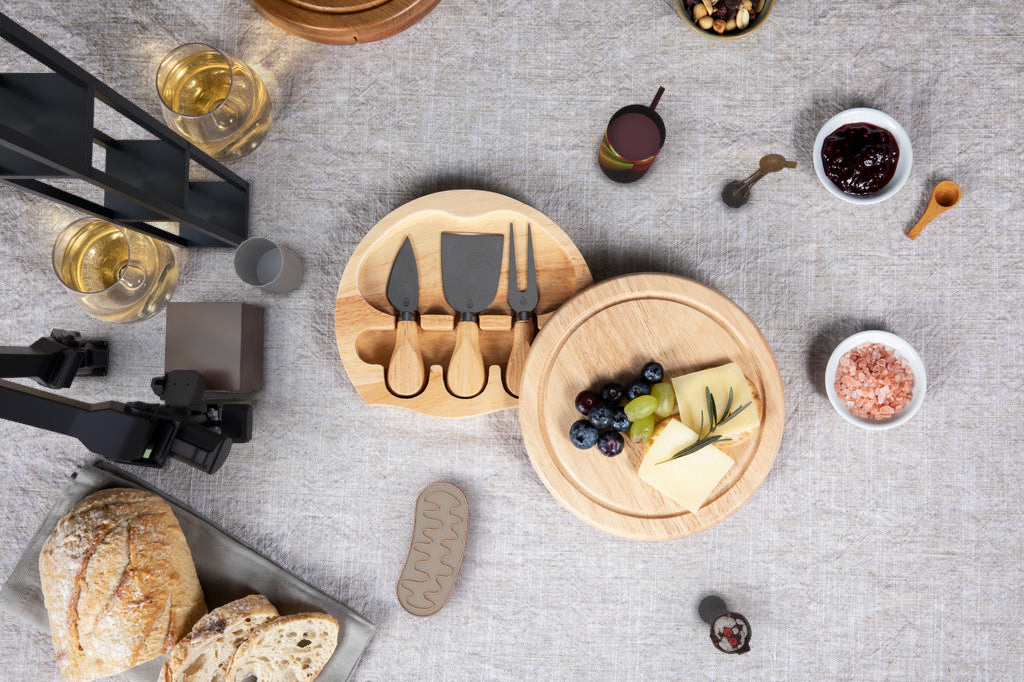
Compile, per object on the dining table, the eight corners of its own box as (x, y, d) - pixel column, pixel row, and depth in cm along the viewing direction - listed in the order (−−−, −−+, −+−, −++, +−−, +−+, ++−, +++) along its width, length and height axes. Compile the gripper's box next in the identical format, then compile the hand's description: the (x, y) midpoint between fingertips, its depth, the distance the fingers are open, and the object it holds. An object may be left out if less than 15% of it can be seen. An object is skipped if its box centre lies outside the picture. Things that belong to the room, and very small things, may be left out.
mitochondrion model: (425, 472, 117) (420, 477, 112) (479, 485, 117) (477, 490, 112) (395, 600, 117) (390, 611, 112) (450, 613, 116) (447, 624, 111)
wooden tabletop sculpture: (755, 184, 119) (802, 146, 99) (752, 209, 119) (799, 176, 99) (722, 180, 119) (762, 142, 99) (719, 206, 119) (759, 172, 99)
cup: (297, 298, 119) (276, 291, 109) (253, 289, 119) (228, 281, 110) (307, 252, 120) (287, 241, 110) (263, 243, 120) (239, 231, 110)
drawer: (256, 432, 117) (237, 437, 110) (192, 432, 118) (168, 436, 110) (258, 330, 118) (240, 327, 110) (195, 329, 118) (172, 326, 111)
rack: (181, 248, 120) (-234, 98, 54) (183, 182, 121) (-225, -45, 55) (247, 248, 120) (-89, 98, 54) (249, 183, 120) (-82, -46, 54)
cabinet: (262, 389, 119) (239, 390, 109) (192, 388, 119) (163, 390, 109) (264, 307, 119) (242, 302, 110) (195, 307, 120) (166, 301, 110)
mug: (654, 109, 120) (668, 80, 108) (650, 184, 119) (664, 164, 107) (600, 106, 120) (609, 77, 108) (596, 182, 119) (605, 161, 107)
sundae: (691, 592, 116) (716, 625, 101) (729, 589, 116) (760, 621, 101) (694, 630, 115) (720, 669, 100) (733, 627, 115) (764, 665, 100)
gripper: (230, 372, 99) (271, 372, 115) (107, 372, 99) (164, 372, 115) (229, 448, 98) (270, 437, 114) (105, 447, 99) (162, 437, 114)
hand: (216, 419), depth 114 cm, fingers closed, pressing on drawer
